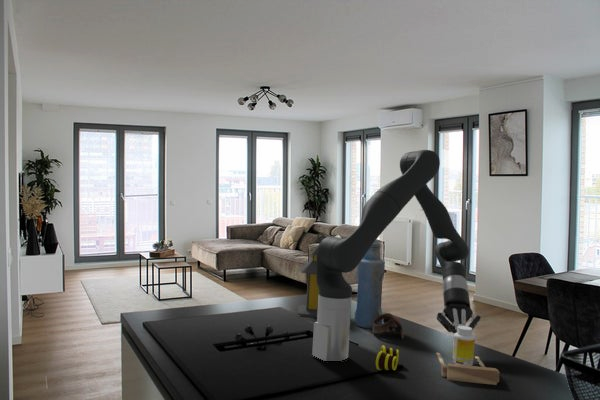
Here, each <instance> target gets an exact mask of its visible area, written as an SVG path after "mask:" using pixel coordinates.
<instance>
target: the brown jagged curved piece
mask: <svg viewBox="0 0 600 400" xmlns="http://www.w3.org/2000/svg"><path fill="white" fill-rule="evenodd" d="M382 319H383V320H382ZM380 320H382V324H381V325H376V324H377V322H379V321H380ZM373 322H374V323H373V324H372V325H373V328H372V333H373V336H374V335H376V334H382V333H385V332H388V333H391V331H392V330H394V334H395V335H401V336H400V337H401V339H404V330H403V326H402V324H401V322H400V320H399V319H398V318H396V317H394V315H393V314H391V313H388V312H387V313H382V315H380V316H378V317H376V318H375V319H374V320H373Z"/></svg>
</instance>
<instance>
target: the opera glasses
mask: <svg viewBox="0 0 600 400" xmlns="http://www.w3.org/2000/svg"><path fill="white" fill-rule="evenodd" d="M399 354H400V351H399V349H393V348H392V347H387V346H385V345H381V347H380V351H379V352H378V353H377V356H376V359H375V367H376V370H378V371H382V370H385V371H389V370H392V371H396V370H397V366H398V363H399V357H400V355H399Z"/></svg>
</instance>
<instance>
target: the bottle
mask: <svg viewBox="0 0 600 400" xmlns="http://www.w3.org/2000/svg"><path fill="white" fill-rule="evenodd" d="M381 247H382V246H381V242H379V240H378V239H376V240H375V242H374V243H373V244H372V246H371V247H370V249H369V250H368V251H367V253H366V254H365V256H364V257H363V259H362V260H361V262H360V263H359V264H358V266H357V267H356V273H357V274H356V275H357V288H356V289H357V290H356V291H357V293H356V294H357V295H356V309H355V312H354V325H355V326H356V327H360V328H364V329H373V325H372V324H373V323H374V322H373V320H374V319H375V318H376V317H378V316H380V315H382V314H383V310H382V298H383V297H382V295H383V278H384V274H385V270H386V269H385V268H386V267H385V265H386V261H385V260H384V259H381ZM381 324H383V319H382V320H380V321H379V322H377V324H376V325H381Z"/></svg>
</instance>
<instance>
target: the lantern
mask: <svg viewBox="0 0 600 400" xmlns="http://www.w3.org/2000/svg"><path fill="white" fill-rule="evenodd" d="M320 236H322V237H321V238H320ZM316 237H317V240H318V241H319V242H318V246H316V247H315V248H314V249H313V250H312V251H311V252H310V255H312V258H311V259H310V260H309V261H308V262H306V263H305V264H304V265H303V266H301V267H300V273H302V274H307V289H306V304H300V305H298V306H297V316H298V315H300V316H299V317H303V318H305V317H307V318H317V311H318V294H319V289H318V285H317V281H316V261H317V250H318V247H319V245H320V243H321V241H322V240H323V239H325V235H324V233H321V232H320V233H318V234H317V236H316Z"/></svg>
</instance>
